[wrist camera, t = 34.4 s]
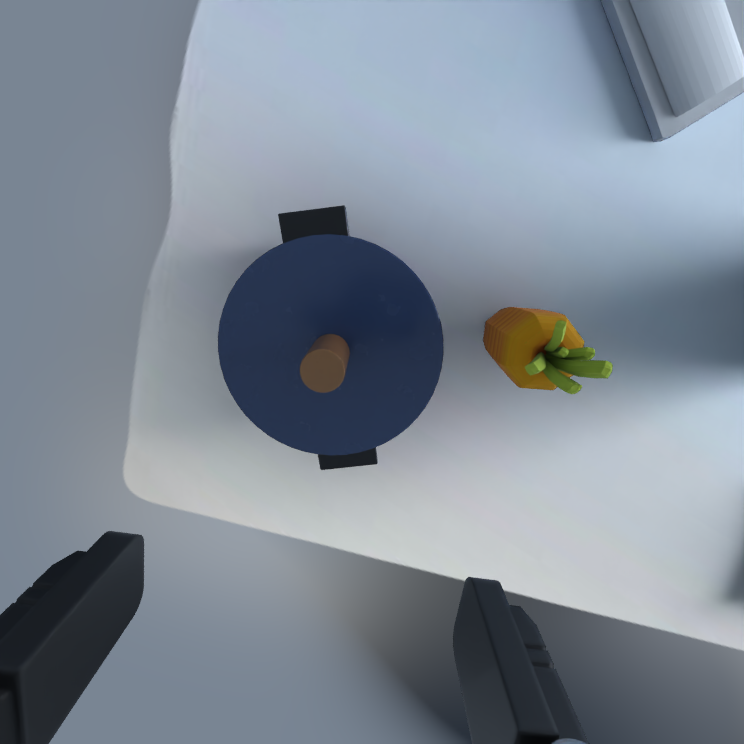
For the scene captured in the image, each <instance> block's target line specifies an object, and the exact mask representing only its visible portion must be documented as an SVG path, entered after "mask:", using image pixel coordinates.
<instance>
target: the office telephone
mask: <svg viewBox="0 0 744 744" xmlns="http://www.w3.org/2000/svg"><path fill="white" fill-rule="evenodd" d="M601 2H602V5H603V8H604V10H605V13H606V16H607V18H608V21H609V23H610V26H611V29H612V31H613V34H614V37H615V39H616V42H617V45H618V47H619V50H620V52H621V55H622V58H623V60H624V63H625V66H626V68H627V71H628V74H629V76H630V79H631V81H632V84H633V87H634V89H635V92H636V95H637V97H638V100H639V102H640V105H641V108H642V110H643V113H644V116H645V118H646V121H647V124H648V127H649V130H650V133H651V136H652V139H653V141H654V142H657V141H662V140H665V139H667V138H670V137H671V136H673V135H675V134H676V133H678V132H680V131H681V130H683V129H685V128H686V127H688V126H690V125H691V124H693V123H694V122H696V121H698V120H699V119H701V118H703V117H704V116H706V115H708V114H709V113H711V112H713V111H714V110H716V109H717V108H719V107H721V106H722V105H724V104H726V103H727V102H729V101H730V100H732V99H734V98H735V97H737V96H738V95H740V94H742V93H743V92H744V0H601Z"/></svg>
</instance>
